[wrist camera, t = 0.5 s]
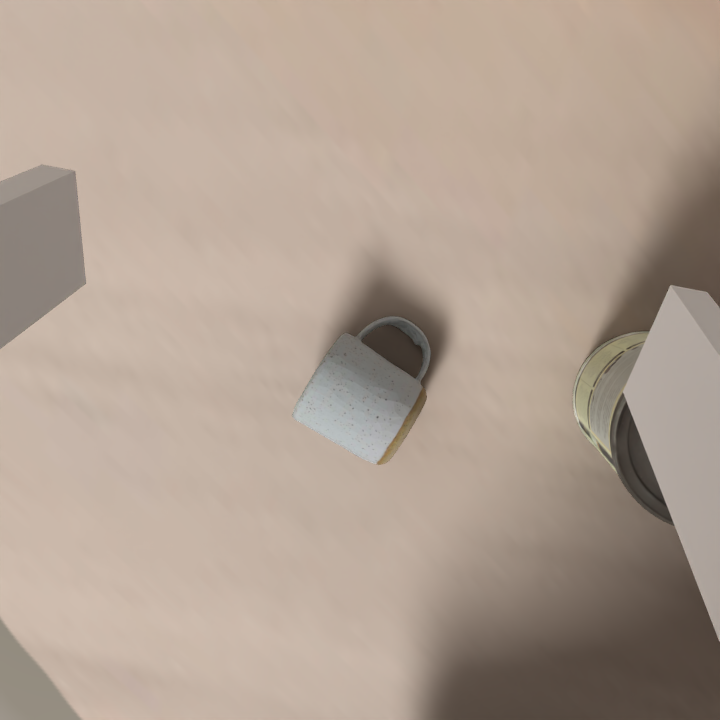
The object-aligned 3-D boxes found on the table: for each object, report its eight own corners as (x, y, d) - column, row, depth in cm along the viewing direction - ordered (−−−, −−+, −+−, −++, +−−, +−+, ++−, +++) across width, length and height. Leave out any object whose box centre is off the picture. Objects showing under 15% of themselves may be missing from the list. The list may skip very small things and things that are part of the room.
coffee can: (728, 340, 46) (841, 362, 32) (699, 474, 47) (795, 551, 33) (584, 319, 47) (632, 331, 34) (559, 450, 49) (596, 513, 35)
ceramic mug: (389, 458, 51) (376, 485, 44) (305, 406, 52) (278, 424, 44) (456, 347, 49) (455, 356, 42) (368, 295, 50) (352, 295, 43)
